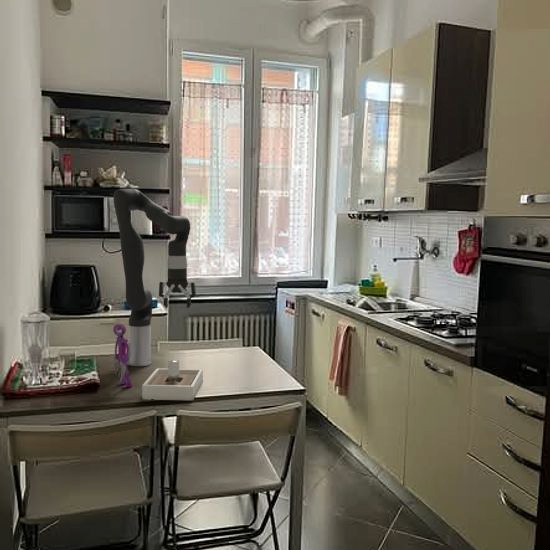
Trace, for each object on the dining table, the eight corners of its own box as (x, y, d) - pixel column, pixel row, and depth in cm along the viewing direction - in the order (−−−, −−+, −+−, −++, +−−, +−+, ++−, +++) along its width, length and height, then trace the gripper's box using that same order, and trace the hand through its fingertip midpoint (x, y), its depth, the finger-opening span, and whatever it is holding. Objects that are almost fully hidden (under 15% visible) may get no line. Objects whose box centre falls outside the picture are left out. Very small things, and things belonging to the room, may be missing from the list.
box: (142, 399, 200) (142, 385, 200) (156, 380, 222) (156, 368, 222) (193, 400, 200) (193, 386, 199) (202, 381, 222) (202, 369, 221)
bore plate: (150, 393, 204) (150, 384, 204) (159, 381, 218) (159, 373, 218) (189, 393, 204) (189, 385, 203) (195, 382, 218) (195, 374, 217)
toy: (103, 382, 219) (102, 321, 216) (121, 379, 223) (120, 319, 220) (119, 393, 206) (118, 328, 204) (137, 390, 210) (136, 326, 208)
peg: (167, 388, 209) (167, 362, 208) (169, 385, 213) (169, 359, 212) (178, 389, 209) (178, 362, 208) (180, 385, 213) (180, 359, 212)
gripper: (156, 267, 219) (157, 309, 221) (193, 268, 219) (193, 309, 221) (161, 265, 227) (161, 305, 229) (196, 266, 227) (196, 306, 228)
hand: (177, 307), depth 225 cm, fingers open, 8 cm apart
